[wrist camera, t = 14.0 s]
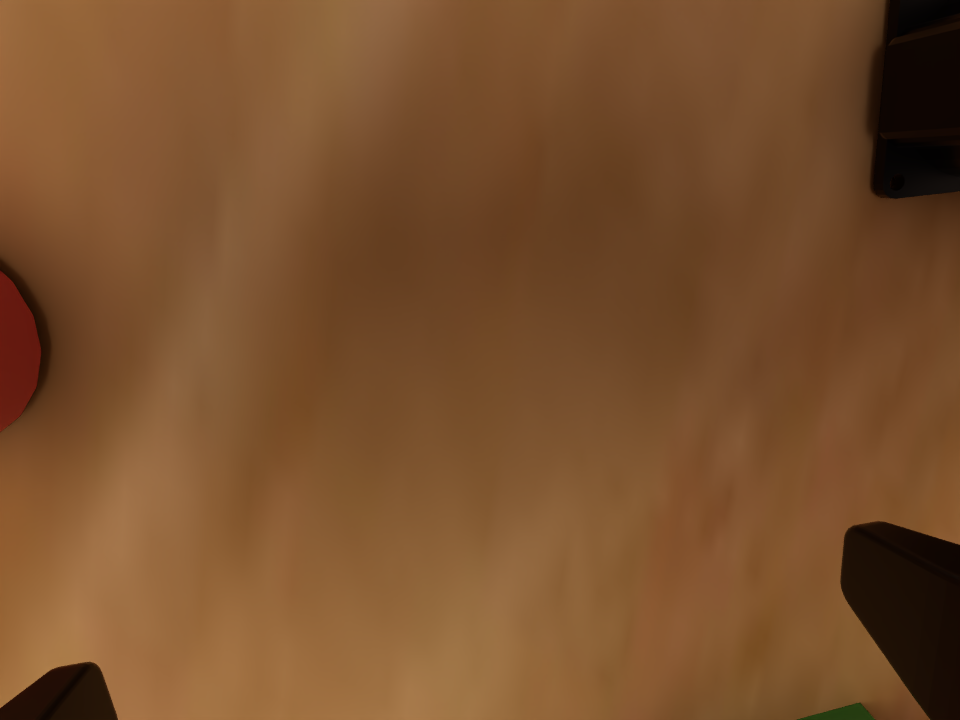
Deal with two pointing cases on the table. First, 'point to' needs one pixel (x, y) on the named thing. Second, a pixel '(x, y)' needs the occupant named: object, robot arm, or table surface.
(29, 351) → the beer can
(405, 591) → the table surface
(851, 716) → the hardback book
